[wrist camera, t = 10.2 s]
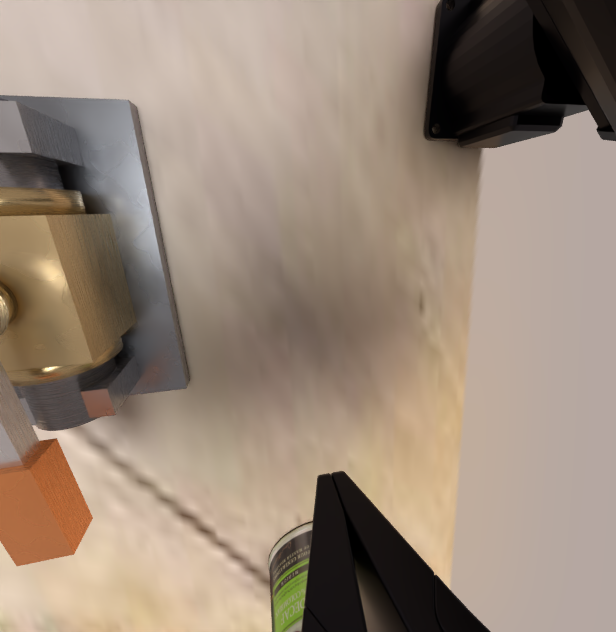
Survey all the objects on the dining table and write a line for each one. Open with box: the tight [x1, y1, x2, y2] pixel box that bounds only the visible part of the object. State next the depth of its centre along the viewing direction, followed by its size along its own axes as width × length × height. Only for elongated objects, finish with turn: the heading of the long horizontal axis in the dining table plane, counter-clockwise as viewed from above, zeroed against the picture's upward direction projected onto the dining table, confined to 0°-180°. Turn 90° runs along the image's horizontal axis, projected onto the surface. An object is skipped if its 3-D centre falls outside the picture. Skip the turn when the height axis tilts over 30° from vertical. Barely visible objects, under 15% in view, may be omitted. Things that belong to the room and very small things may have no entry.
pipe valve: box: [0, 95, 190, 431], centre depth 13 cm, size 16×10×7 cm, turn 1°
